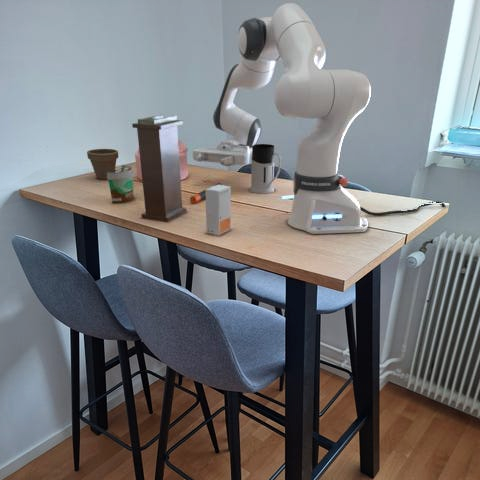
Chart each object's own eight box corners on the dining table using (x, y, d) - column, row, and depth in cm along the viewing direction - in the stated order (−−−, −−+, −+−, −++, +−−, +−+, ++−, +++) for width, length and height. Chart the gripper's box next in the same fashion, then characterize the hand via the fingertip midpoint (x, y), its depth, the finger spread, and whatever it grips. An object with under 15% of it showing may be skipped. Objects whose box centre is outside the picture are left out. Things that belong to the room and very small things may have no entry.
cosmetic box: (219, 236, 125) (218, 191, 119) (206, 233, 127) (204, 188, 121) (231, 229, 130) (231, 186, 124) (218, 227, 132) (217, 184, 126)
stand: (163, 207, 148) (155, 114, 134) (187, 211, 145) (182, 115, 131) (141, 218, 139) (131, 118, 125) (167, 222, 135) (159, 120, 122)
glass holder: (264, 185, 172) (266, 142, 165) (289, 194, 162) (291, 149, 154) (245, 189, 168) (245, 145, 160) (268, 198, 158) (270, 151, 150)
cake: (142, 171, 192) (139, 134, 185) (191, 171, 192) (189, 134, 185) (132, 183, 175) (128, 143, 168) (186, 183, 175) (183, 143, 168)
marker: (217, 182, 166) (223, 184, 165) (216, 188, 167) (222, 190, 167) (190, 195, 151) (196, 197, 150) (189, 202, 152) (195, 204, 152)
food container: (128, 205, 150) (124, 173, 145) (110, 204, 151) (106, 172, 146) (142, 195, 160) (139, 165, 155) (126, 194, 161) (122, 164, 156)
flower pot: (126, 175, 186) (123, 148, 181) (113, 182, 177) (109, 154, 172) (99, 173, 189) (95, 147, 184) (85, 180, 179) (81, 153, 174)
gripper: (202, 142, 174) (184, 148, 163) (253, 146, 167) (237, 153, 156) (203, 159, 177) (185, 166, 166) (253, 164, 170) (237, 172, 159)
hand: (210, 160), depth 161 cm, fingers open, 8 cm apart
